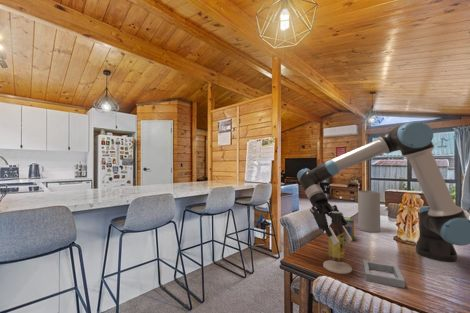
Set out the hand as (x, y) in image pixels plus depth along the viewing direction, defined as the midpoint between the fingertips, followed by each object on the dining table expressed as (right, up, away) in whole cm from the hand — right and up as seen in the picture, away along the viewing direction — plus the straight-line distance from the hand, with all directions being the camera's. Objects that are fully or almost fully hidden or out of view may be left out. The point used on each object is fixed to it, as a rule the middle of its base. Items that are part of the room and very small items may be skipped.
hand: (343, 242), depth 93 cm
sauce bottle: (-1, -9, +3) cm, 9 cm away
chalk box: (+20, -13, +41) cm, 48 cm away
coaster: (-1, -12, +3) cm, 12 cm away
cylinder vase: (+44, -13, +57) cm, 73 cm away
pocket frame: (+13, -12, -4) cm, 18 cm away
